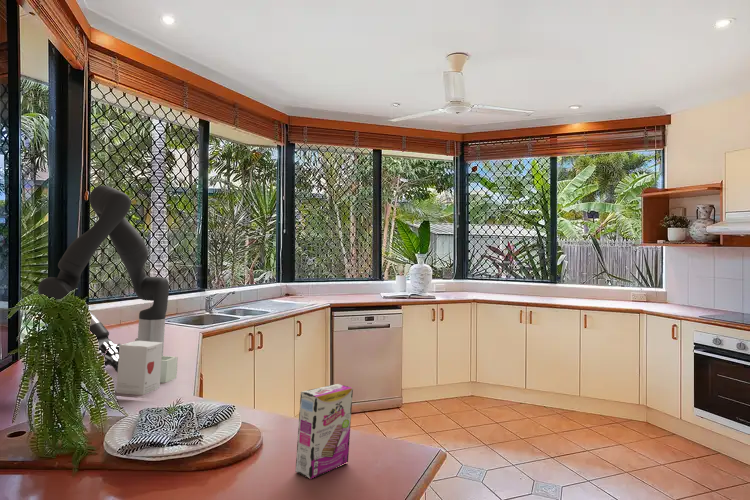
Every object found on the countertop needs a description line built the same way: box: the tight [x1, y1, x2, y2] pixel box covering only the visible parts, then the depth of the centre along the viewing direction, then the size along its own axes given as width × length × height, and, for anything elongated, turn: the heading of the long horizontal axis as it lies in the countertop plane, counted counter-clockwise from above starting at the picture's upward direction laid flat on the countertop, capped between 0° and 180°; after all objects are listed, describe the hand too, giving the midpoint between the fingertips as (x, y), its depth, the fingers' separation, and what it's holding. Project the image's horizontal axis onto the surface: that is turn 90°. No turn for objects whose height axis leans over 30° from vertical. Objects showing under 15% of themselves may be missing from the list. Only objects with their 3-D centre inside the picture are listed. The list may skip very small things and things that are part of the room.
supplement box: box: [115, 340, 162, 396], centre depth 146 cm, size 9×9×15 cm
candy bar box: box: [295, 383, 354, 480], centre depth 100 cm, size 11×5×16 cm, turn 141°
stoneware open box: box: [160, 355, 179, 384], centre depth 160 cm, size 7×7×8 cm
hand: (123, 372), depth 147 cm, fingers closed
